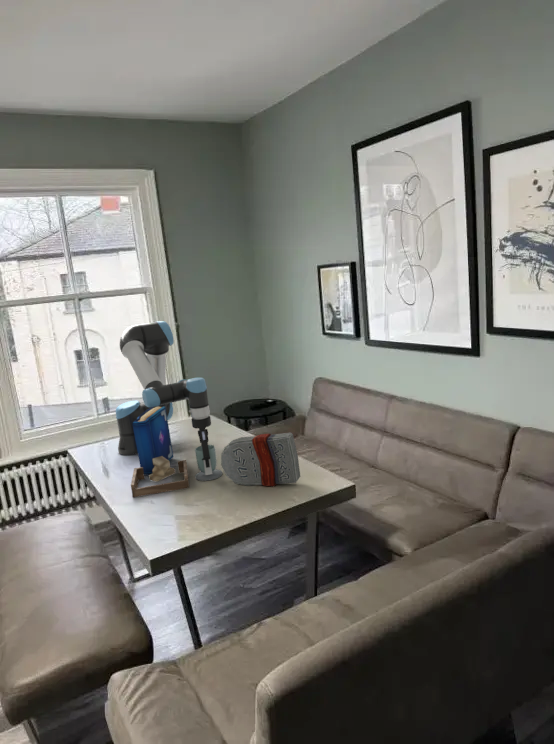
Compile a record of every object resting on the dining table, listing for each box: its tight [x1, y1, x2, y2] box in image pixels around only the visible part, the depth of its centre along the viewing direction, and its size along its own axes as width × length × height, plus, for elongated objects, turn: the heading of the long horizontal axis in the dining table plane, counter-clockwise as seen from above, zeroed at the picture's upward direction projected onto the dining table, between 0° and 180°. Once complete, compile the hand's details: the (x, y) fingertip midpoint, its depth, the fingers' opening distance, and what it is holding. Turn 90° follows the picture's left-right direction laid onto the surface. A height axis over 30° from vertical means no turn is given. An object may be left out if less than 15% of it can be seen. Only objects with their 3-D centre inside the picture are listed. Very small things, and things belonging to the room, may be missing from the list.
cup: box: [194, 444, 218, 473], centre depth 225 cm, size 8×8×10 cm
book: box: [132, 406, 174, 476], centre depth 240 cm, size 22×7×25 cm, turn 168°
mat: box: [194, 468, 223, 482], centre depth 226 cm, size 11×11×1 cm
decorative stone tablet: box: [220, 432, 301, 487], centre depth 210 cm, size 19×6×30 cm
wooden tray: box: [130, 459, 190, 498], centre depth 222 cm, size 19×21×5 cm
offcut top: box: [152, 456, 171, 470], centre depth 229 cm, size 4×8×3 cm, turn 32°
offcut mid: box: [152, 466, 169, 476], centre depth 230 cm, size 4×9×3 cm, turn 178°
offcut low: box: [148, 466, 176, 483], centre depth 231 cm, size 4×10×3 cm, turn 141°
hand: (208, 470), depth 226 cm, fingers closed on cup, 8 cm apart
